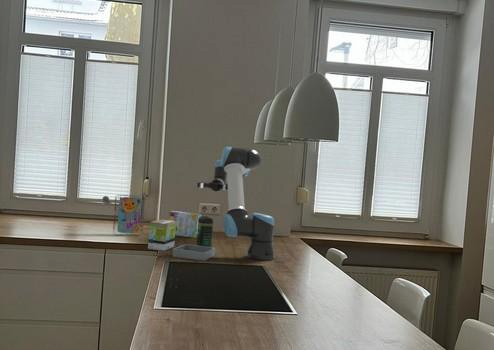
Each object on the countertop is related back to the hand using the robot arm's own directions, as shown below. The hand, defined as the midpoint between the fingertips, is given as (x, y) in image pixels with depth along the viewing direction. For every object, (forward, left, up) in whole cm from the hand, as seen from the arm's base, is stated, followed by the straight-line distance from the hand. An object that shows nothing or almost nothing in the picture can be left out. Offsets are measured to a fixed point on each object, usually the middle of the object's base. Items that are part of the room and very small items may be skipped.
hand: (212, 186), depth 299 cm
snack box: (+24, -23, -35) cm, 48 cm away
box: (+55, +2, -34) cm, 65 cm away
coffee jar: (-3, +15, -35) cm, 38 cm away
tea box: (+18, +25, -35) cm, 46 cm away
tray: (-5, +35, -34) cm, 49 cm away
